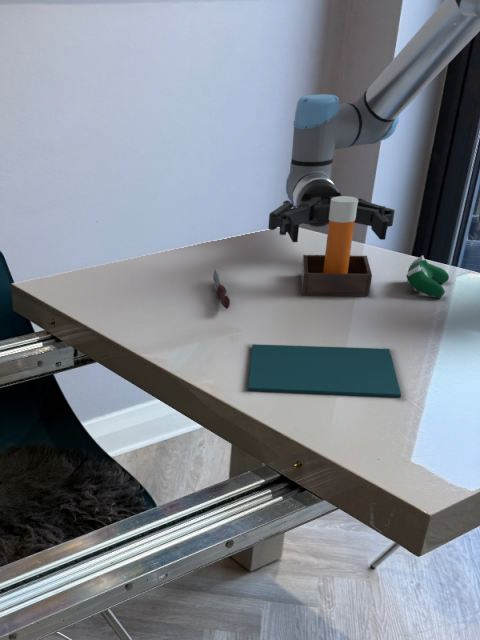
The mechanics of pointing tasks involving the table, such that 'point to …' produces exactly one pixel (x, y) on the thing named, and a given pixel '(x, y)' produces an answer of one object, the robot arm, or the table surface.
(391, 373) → the mat
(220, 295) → the knife
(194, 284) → the table surface
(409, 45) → the robot arm
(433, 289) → the gaming controller
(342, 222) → the glue stick
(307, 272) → the box
